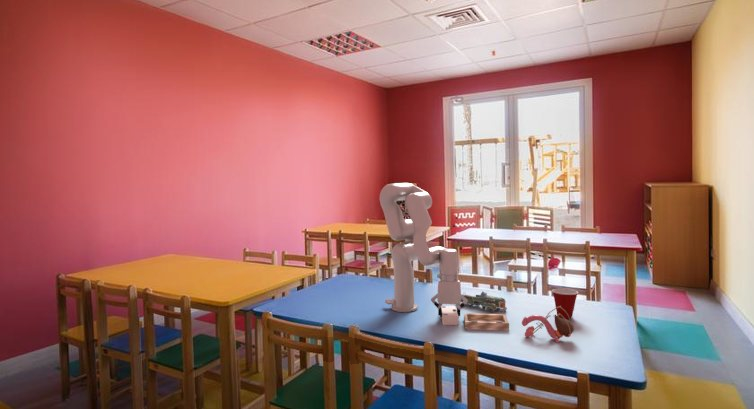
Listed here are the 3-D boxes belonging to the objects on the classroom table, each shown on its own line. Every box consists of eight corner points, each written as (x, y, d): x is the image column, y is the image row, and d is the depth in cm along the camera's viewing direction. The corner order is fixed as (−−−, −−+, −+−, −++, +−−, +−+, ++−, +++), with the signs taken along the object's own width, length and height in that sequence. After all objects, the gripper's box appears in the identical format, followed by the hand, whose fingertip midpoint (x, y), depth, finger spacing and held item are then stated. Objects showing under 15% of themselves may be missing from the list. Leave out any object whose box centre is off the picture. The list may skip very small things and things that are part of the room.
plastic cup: (576, 314, 190) (577, 287, 190) (579, 322, 180) (580, 294, 179) (550, 312, 194) (550, 286, 193) (552, 320, 184) (552, 292, 183)
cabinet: (465, 329, 176) (465, 321, 175) (464, 319, 186) (464, 312, 186) (509, 330, 173) (509, 322, 173) (505, 321, 184) (505, 313, 183)
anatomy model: (518, 320, 174) (547, 293, 168) (547, 349, 170) (579, 322, 164) (514, 329, 164) (545, 301, 158) (545, 360, 160) (578, 332, 154)
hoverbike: (502, 315, 192) (502, 297, 191) (451, 306, 206) (451, 289, 205) (509, 309, 200) (509, 292, 199) (459, 301, 214) (459, 285, 213)
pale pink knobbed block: (458, 325, 180) (458, 314, 180) (443, 324, 181) (442, 314, 180) (455, 314, 193) (455, 304, 193) (440, 314, 194) (440, 304, 193)
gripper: (428, 279, 183) (429, 319, 185) (470, 280, 180) (470, 321, 182) (429, 274, 190) (429, 313, 192) (468, 275, 188) (468, 315, 189)
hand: (449, 317), depth 187 cm, fingers closed on pale pink knobbed block, 6 cm apart
